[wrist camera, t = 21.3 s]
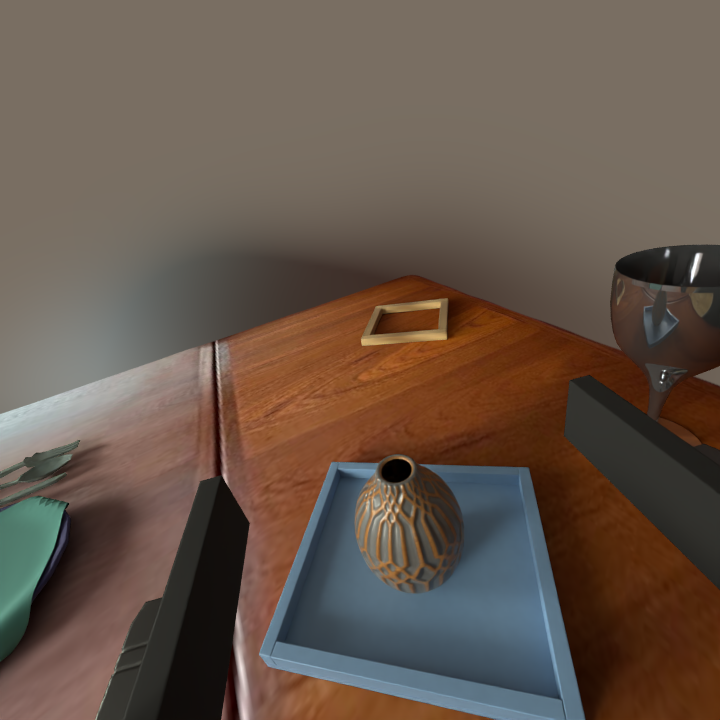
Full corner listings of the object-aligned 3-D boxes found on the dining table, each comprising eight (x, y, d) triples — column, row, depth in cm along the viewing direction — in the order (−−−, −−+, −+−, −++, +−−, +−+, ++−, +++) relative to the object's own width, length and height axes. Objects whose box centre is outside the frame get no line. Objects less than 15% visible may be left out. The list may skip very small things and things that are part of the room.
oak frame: (448, 304, 61) (447, 298, 61) (447, 339, 51) (446, 332, 50) (377, 312, 65) (376, 306, 65) (362, 346, 55) (360, 339, 54)
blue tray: (528, 481, 28) (528, 467, 27) (583, 740, 16) (587, 727, 15) (336, 474, 33) (331, 461, 32) (268, 666, 21) (258, 654, 20)
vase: (380, 628, 21) (347, 541, 17) (358, 528, 27) (331, 446, 23) (487, 592, 21) (481, 498, 17) (442, 501, 27) (431, 416, 23)
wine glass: (743, 460, 26) (836, 259, 18) (648, 493, 25) (705, 299, 18) (645, 400, 33) (684, 238, 25) (568, 425, 32) (586, 266, 25)
